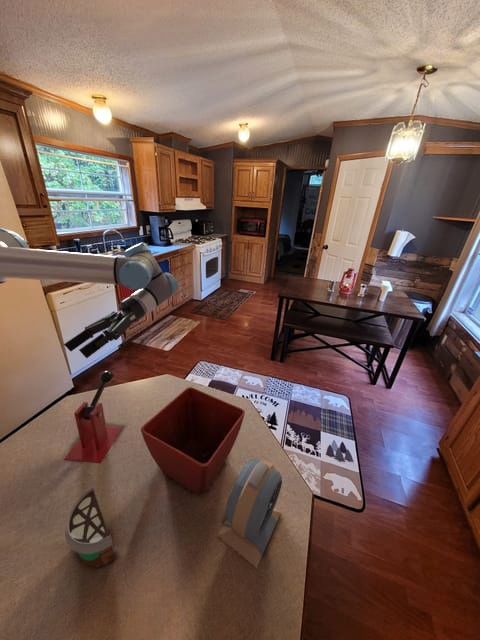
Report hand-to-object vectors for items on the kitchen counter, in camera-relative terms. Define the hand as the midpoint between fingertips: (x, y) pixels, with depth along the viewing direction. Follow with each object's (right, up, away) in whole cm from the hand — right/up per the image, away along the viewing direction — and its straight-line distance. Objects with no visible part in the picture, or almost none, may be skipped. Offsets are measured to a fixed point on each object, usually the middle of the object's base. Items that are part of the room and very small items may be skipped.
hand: (74, 350), depth 67 cm
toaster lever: (+4, -14, +6) cm, 16 cm away
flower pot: (+32, -32, +3) cm, 45 cm away
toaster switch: (+2, -28, +6) cm, 29 cm away
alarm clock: (+47, -39, -9) cm, 61 cm away
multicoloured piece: (+14, -39, -16) cm, 44 cm away
